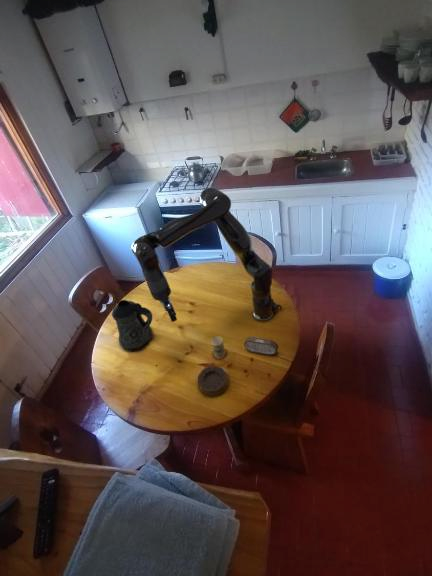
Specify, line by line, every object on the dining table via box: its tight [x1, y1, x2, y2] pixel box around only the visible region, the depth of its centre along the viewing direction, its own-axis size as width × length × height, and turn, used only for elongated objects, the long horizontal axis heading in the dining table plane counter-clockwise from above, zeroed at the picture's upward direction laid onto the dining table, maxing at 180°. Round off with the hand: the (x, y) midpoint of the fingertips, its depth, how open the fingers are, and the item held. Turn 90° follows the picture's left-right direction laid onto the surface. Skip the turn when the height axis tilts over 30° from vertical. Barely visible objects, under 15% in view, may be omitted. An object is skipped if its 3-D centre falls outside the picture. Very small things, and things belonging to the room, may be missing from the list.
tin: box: [243, 336, 279, 356], centre depth 153 cm, size 15×3×8 cm, turn 71°
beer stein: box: [111, 299, 153, 352], centre depth 166 cm, size 16×19×25 cm
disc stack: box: [210, 335, 227, 359], centre depth 155 cm, size 5×5×9 cm
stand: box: [197, 365, 229, 397], centre depth 145 cm, size 12×12×4 cm
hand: (170, 314), depth 142 cm, fingers open, 8 cm apart
